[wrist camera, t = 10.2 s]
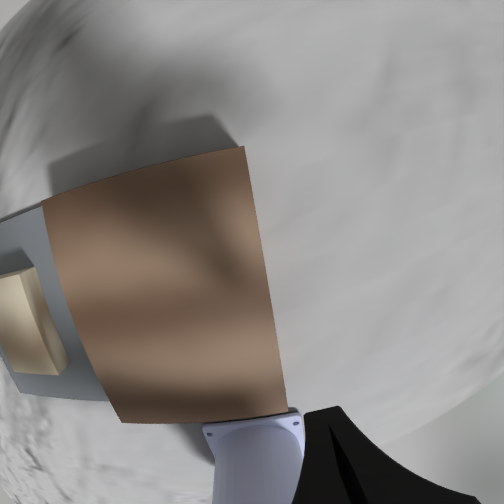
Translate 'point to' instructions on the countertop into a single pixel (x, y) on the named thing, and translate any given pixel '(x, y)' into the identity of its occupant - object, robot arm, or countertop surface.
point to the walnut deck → (171, 290)
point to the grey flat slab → (40, 256)
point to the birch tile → (29, 326)
